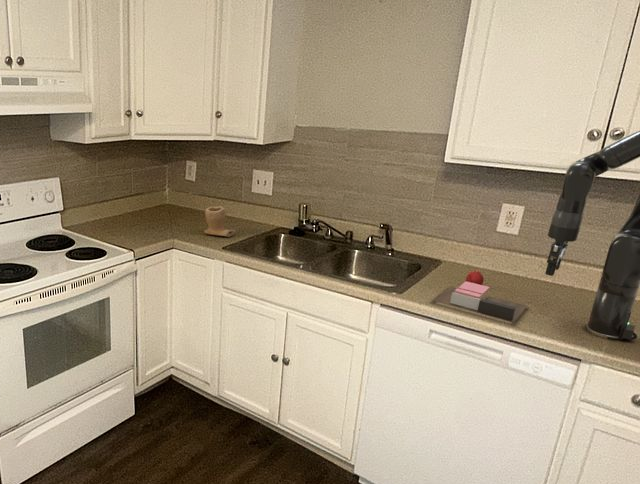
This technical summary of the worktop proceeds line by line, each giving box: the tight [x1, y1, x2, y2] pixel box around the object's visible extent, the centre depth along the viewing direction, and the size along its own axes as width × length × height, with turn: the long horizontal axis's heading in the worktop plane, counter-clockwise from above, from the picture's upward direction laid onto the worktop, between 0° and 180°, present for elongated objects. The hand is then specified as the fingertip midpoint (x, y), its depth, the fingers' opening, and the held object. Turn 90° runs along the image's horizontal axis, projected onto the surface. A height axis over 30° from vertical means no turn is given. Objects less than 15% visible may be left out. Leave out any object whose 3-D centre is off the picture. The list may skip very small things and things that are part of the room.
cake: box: [457, 281, 491, 299], centre depth 190 cm, size 8×9×4 cm
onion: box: [465, 268, 484, 285], centre depth 200 cm, size 6×6×8 cm
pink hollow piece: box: [204, 205, 237, 238], centre depth 267 cm, size 15×12×15 cm
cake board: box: [432, 286, 528, 324], centre depth 185 cm, size 25×20×1 cm
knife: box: [450, 292, 516, 320], centre depth 178 cm, size 19×2×4 cm, turn 45°
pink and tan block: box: [454, 289, 482, 299], centre depth 185 cm, size 8×3×4 cm, turn 45°
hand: (551, 271), depth 170 cm, fingers open, 8 cm apart
